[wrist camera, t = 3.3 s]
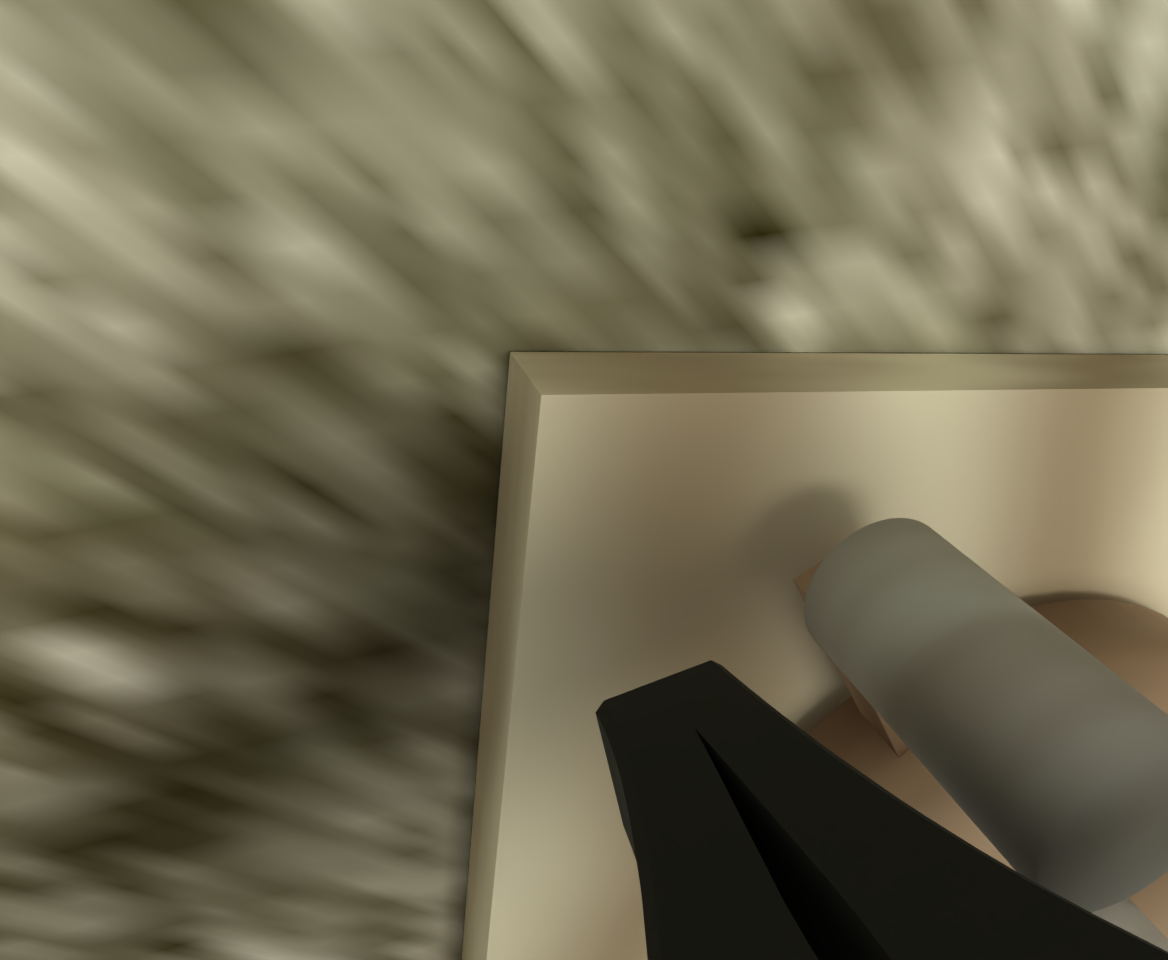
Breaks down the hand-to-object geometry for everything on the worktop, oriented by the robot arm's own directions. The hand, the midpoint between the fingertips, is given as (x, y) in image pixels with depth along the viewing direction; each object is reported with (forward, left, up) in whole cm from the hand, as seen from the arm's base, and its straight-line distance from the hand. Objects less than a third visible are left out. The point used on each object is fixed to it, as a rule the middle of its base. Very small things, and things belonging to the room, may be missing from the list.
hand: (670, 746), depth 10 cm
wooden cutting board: (+7, -6, -4) cm, 11 cm away
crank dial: (+7, -4, -2) cm, 9 cm away
